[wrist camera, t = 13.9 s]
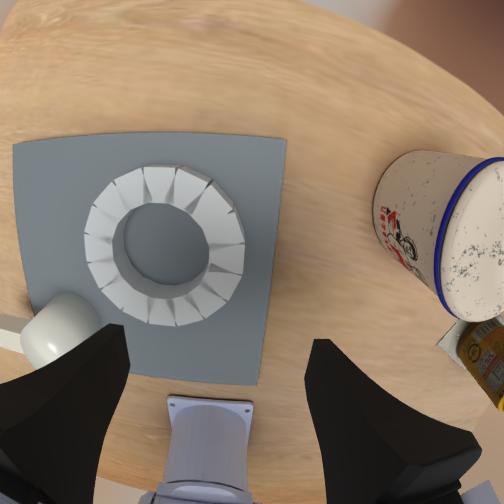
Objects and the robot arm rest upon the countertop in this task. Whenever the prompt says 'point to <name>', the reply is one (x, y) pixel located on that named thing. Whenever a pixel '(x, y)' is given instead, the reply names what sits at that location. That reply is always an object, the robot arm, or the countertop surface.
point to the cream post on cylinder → (50, 329)
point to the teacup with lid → (447, 227)
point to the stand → (157, 242)
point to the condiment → (480, 353)
